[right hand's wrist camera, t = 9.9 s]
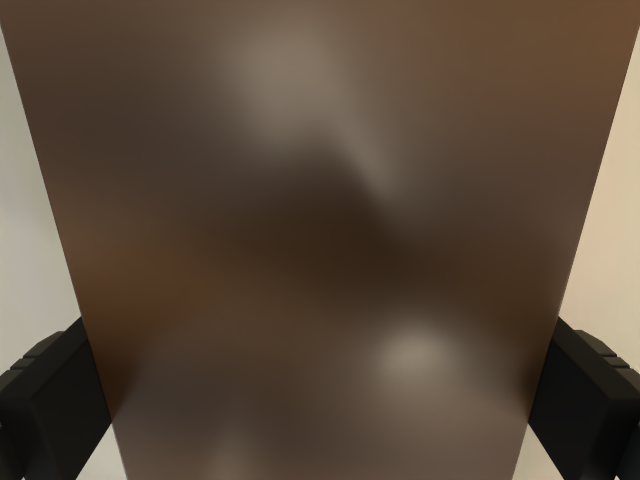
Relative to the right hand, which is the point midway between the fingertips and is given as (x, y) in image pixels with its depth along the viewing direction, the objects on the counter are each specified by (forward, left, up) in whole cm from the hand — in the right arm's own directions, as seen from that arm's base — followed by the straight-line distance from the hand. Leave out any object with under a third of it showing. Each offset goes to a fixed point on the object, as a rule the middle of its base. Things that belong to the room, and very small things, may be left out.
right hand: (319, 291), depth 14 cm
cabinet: (+4, -4, -6) cm, 8 cm away
